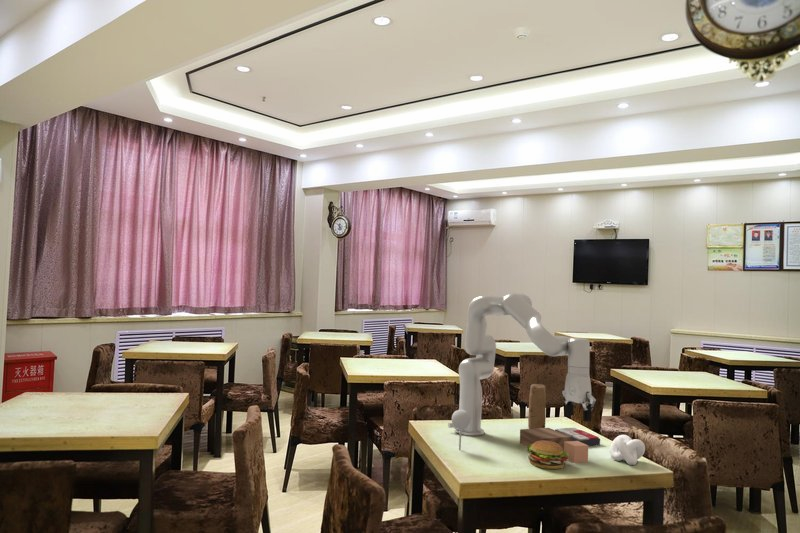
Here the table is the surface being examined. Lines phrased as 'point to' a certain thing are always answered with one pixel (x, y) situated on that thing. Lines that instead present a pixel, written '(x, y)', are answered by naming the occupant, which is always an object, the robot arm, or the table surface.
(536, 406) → the brown rock
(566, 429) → the calculator
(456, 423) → the lollipop
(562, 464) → the food
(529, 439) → the walnut block
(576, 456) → the terracotta cube
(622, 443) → the white knot
